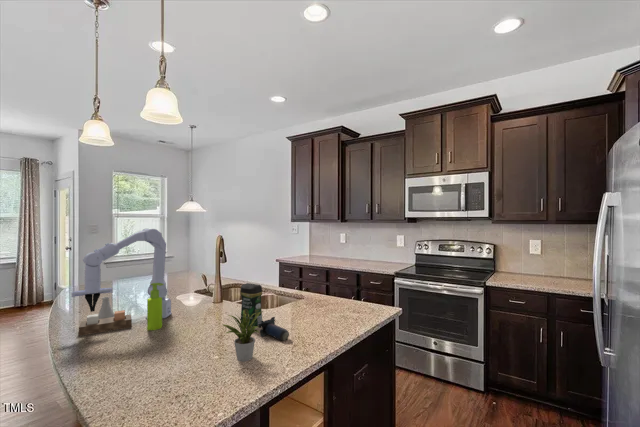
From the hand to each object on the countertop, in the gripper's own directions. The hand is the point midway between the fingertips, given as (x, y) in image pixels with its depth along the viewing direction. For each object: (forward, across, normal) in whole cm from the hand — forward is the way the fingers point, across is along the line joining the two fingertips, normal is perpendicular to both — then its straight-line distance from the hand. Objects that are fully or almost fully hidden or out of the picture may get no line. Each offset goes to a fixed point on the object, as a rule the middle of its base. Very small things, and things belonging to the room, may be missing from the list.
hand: (92, 311), depth 139 cm
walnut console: (+8, +5, 0) cm, 10 cm away
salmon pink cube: (+6, +10, 0) cm, 12 cm away
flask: (+9, +4, +19) cm, 21 cm away
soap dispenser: (+9, +24, -12) cm, 28 cm away
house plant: (+9, +48, -63) cm, 79 cm away
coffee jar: (+9, +61, -31) cm, 69 cm away
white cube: (+7, 0, 0) cm, 7 cm away
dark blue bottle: (+9, +64, -52) cm, 83 cm away
